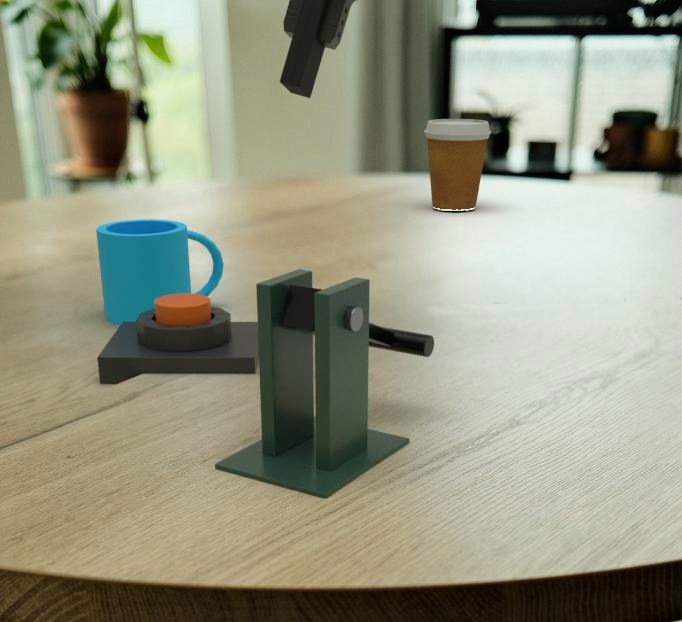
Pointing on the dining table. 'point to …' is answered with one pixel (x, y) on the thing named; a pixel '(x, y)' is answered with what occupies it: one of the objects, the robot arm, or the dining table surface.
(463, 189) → the disposable coffee cup
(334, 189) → the dining table surface
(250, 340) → the control block
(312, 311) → the switch lever
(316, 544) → the dining table surface
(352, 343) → the green crank press stand
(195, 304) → the button
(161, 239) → the mug
